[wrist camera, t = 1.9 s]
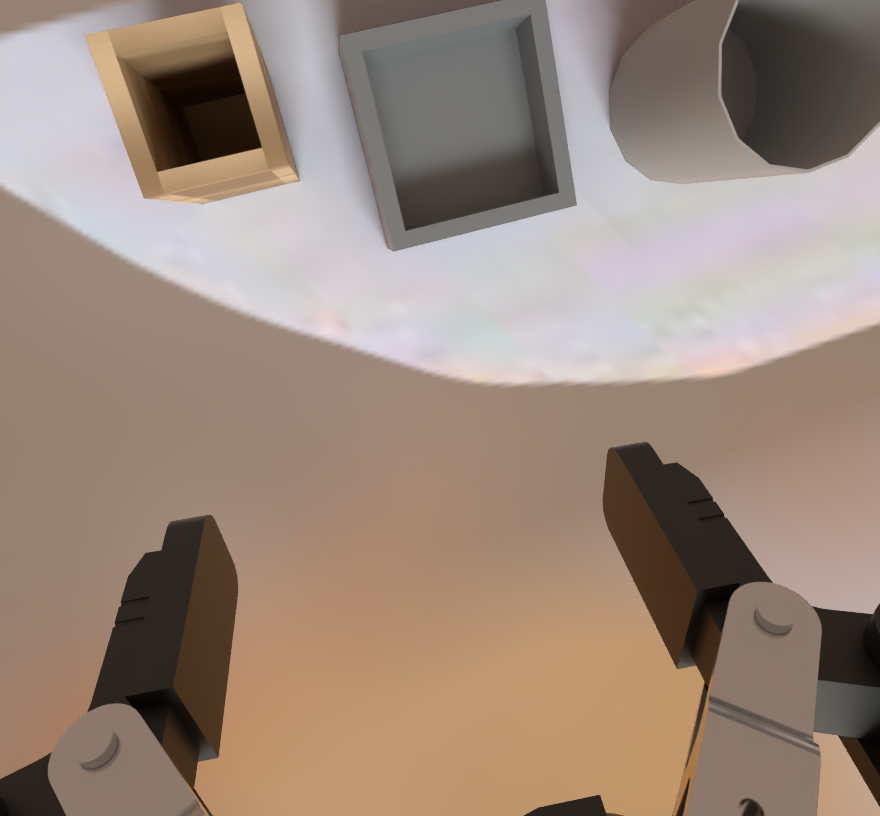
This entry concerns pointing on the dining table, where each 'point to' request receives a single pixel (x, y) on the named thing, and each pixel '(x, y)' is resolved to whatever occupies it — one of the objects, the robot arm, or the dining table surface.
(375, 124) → the tray
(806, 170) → the cup
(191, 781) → the robot arm
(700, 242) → the dining table surface
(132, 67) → the oak crate
